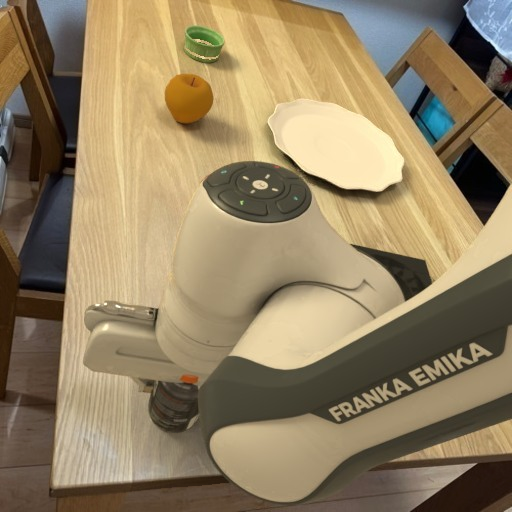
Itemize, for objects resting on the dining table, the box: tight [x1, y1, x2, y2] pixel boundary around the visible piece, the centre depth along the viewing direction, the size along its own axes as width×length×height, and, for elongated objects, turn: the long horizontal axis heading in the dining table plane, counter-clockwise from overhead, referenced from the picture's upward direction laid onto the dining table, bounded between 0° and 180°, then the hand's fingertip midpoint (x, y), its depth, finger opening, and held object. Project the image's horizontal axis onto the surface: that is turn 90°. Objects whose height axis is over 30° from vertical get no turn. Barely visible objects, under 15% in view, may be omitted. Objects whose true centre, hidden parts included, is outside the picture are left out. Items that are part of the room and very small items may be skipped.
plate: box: [266, 97, 406, 193], centre depth 101 cm, size 29×29×2 cm
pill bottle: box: [147, 375, 200, 433], centre depth 52 cm, size 6×6×11 cm
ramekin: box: [183, 25, 226, 63], centre depth 111 cm, size 9×9×4 cm
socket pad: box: [349, 243, 433, 301], centre depth 76 cm, size 16×16×3 cm
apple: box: [164, 73, 215, 124], centre depth 90 cm, size 9×9×9 cm
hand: (180, 391), depth 53 cm, fingers closed on pill bottle, 6 cm apart
